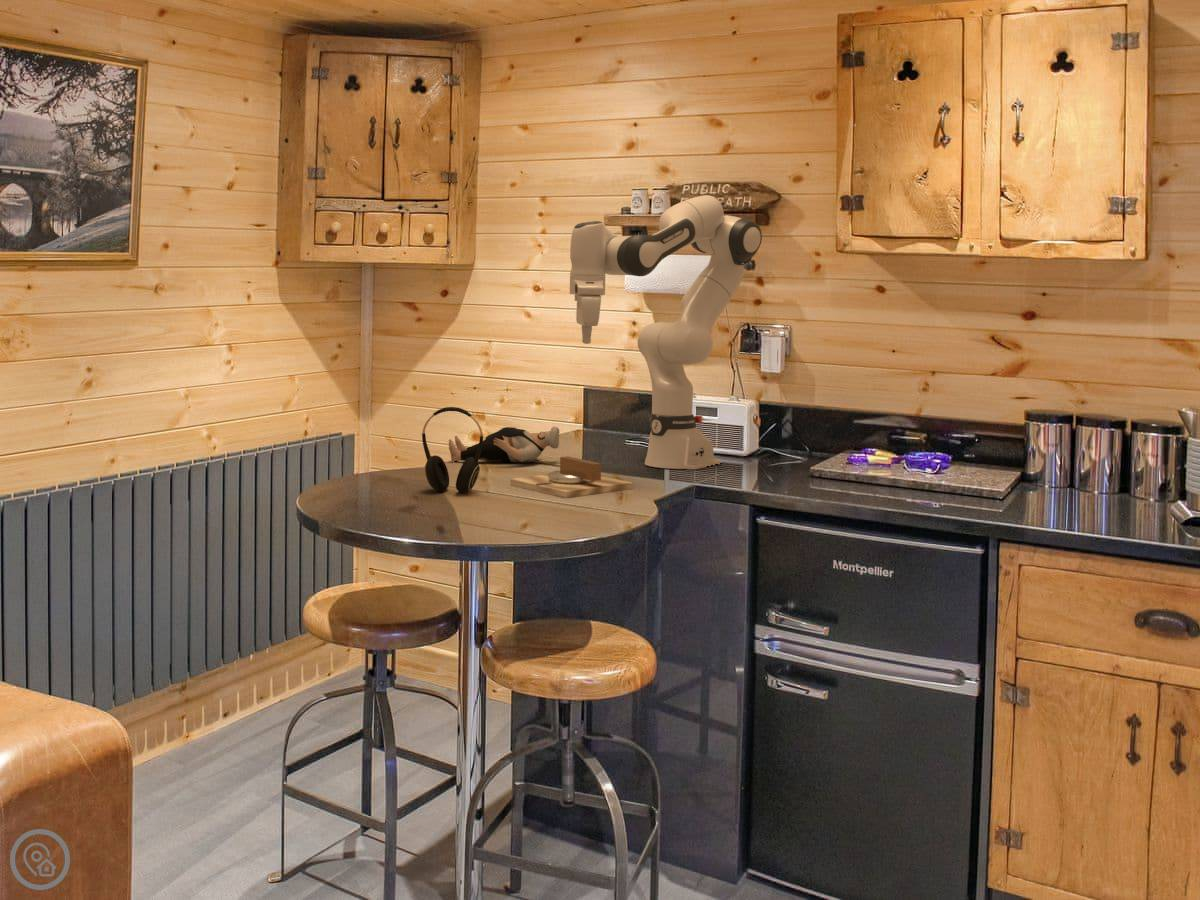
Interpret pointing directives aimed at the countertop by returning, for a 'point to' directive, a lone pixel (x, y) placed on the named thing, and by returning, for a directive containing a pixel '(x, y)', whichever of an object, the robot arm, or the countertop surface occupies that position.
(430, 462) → the headphones
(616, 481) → the dial plate
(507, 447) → the figurine
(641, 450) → the countertop surface
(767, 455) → the countertop surface
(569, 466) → the dial
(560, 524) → the countertop surface
